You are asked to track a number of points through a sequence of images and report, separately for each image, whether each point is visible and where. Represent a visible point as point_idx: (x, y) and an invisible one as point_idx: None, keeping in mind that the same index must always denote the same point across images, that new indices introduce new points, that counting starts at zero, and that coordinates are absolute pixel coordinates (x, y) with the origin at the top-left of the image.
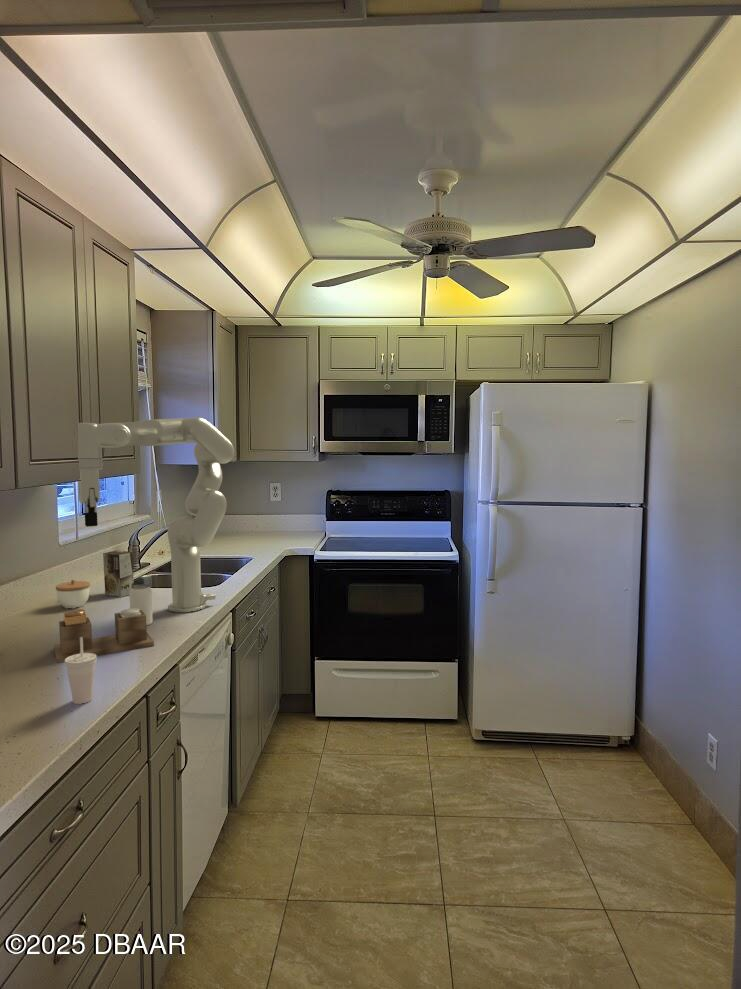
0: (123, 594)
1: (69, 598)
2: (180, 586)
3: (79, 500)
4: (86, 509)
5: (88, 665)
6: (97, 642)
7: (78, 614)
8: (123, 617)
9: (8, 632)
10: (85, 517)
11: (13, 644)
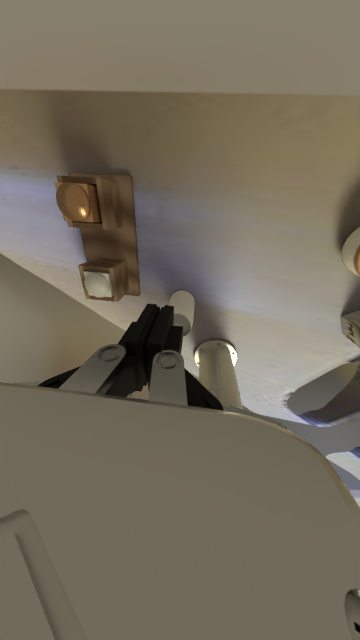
0: (343, 320)
1: (354, 235)
2: (204, 368)
3: (127, 415)
4: (85, 363)
5: None
6: (114, 236)
7: (59, 207)
8: (84, 273)
9: (281, 94)
10: (135, 325)
11: (191, 103)
